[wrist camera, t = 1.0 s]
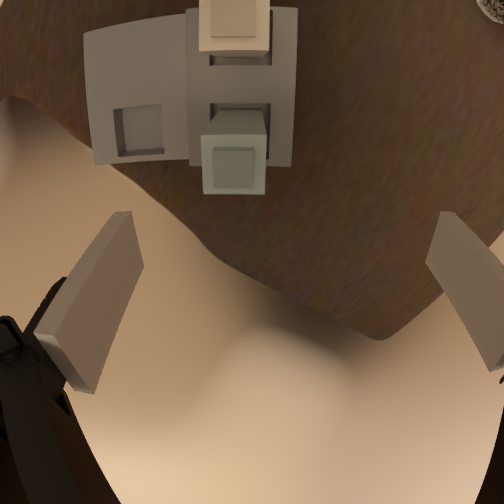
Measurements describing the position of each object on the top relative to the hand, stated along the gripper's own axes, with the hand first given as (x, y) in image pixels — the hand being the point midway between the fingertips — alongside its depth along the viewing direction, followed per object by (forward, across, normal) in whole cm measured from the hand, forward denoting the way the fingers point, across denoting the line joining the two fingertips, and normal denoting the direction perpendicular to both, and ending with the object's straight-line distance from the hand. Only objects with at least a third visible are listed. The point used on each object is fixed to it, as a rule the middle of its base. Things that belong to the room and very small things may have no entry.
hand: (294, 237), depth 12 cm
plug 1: (+21, -3, +10) cm, 23 cm away
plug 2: (+21, -3, 0) cm, 21 cm away
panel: (+24, -9, +5) cm, 26 cm away
